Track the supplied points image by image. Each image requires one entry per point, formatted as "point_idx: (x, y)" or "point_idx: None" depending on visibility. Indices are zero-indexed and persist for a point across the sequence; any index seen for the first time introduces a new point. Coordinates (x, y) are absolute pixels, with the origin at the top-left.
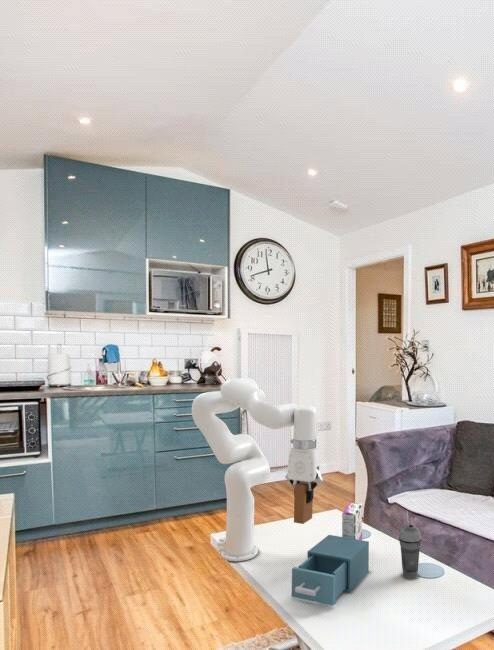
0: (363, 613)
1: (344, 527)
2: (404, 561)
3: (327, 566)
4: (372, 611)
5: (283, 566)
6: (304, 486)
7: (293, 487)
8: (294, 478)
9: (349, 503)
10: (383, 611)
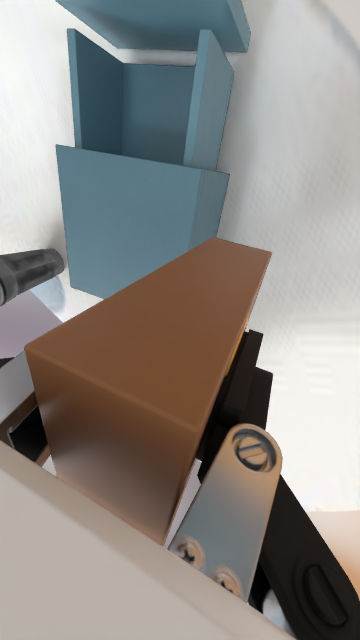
0: (59, 54)
1: None
2: (29, 256)
3: None
4: (49, 76)
5: (326, 268)
6: (38, 348)
7: (269, 450)
8: (149, 629)
9: None
10: (33, 88)
